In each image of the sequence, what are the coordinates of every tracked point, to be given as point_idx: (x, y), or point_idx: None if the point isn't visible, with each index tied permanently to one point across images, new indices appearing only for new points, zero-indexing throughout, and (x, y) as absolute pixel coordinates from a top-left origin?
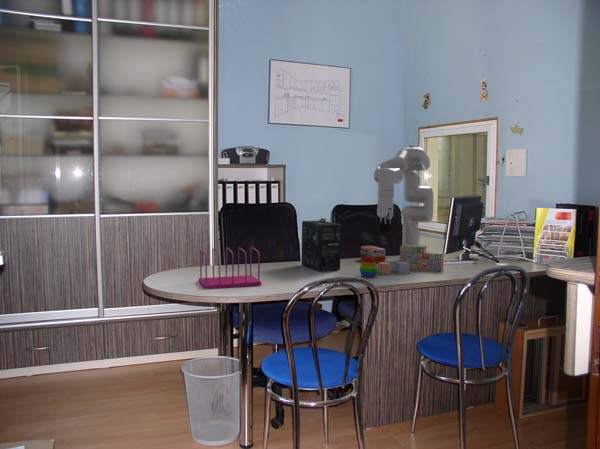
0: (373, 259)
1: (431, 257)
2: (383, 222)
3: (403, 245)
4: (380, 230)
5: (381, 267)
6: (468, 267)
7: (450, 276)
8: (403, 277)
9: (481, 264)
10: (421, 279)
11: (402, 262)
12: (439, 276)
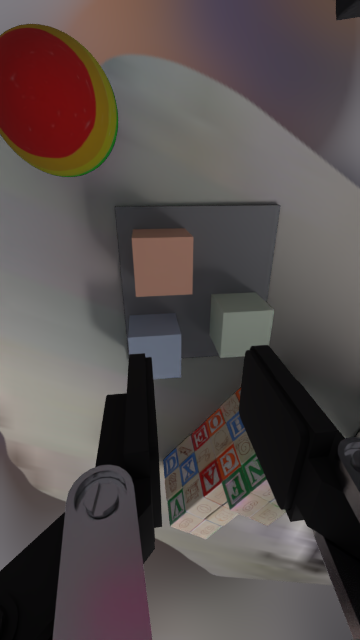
0: (18, 130)
1: (192, 486)
2: (308, 484)
3: None
4: (266, 345)
5: (135, 234)
6: (215, 534)
7: (73, 462)
8: (60, 307)
9: (247, 564)
10: (10, 360)
11: (163, 361)
12: (75, 434)
